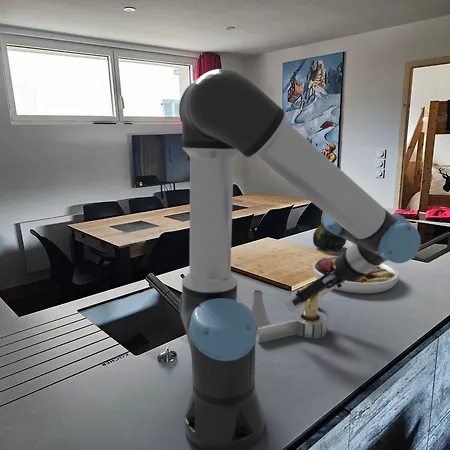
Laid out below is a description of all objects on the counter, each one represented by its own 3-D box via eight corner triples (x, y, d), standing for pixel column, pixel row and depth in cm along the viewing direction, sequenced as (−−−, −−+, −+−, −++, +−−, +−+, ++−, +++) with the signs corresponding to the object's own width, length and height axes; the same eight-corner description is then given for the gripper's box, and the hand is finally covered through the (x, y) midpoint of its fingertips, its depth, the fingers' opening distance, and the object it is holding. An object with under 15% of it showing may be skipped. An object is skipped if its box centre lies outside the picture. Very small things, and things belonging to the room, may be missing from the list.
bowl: (384, 268, 161) (385, 249, 160) (410, 298, 132) (412, 276, 130) (308, 266, 164) (309, 248, 162) (318, 296, 135) (319, 274, 133)
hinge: (324, 352, 100) (324, 338, 99) (256, 342, 105) (256, 329, 104) (329, 307, 126) (330, 295, 125) (274, 301, 131) (275, 289, 130)
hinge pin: (317, 335, 109) (319, 291, 106) (301, 332, 110) (302, 289, 107) (318, 327, 113) (320, 285, 110) (302, 325, 114) (304, 283, 111)
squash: (305, 233, 193) (317, 215, 182) (332, 232, 198) (346, 214, 186) (314, 258, 186) (328, 241, 174) (342, 256, 190) (357, 239, 178)
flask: (249, 330, 112) (249, 297, 110) (241, 319, 119) (241, 288, 116) (273, 327, 114) (274, 294, 111) (264, 316, 120) (265, 285, 118)
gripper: (337, 288, 88) (282, 327, 102) (390, 262, 104) (336, 299, 118) (318, 260, 90) (267, 301, 105) (372, 239, 107) (322, 277, 121)
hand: (304, 300), depth 112 cm, fingers open, 13 cm apart
